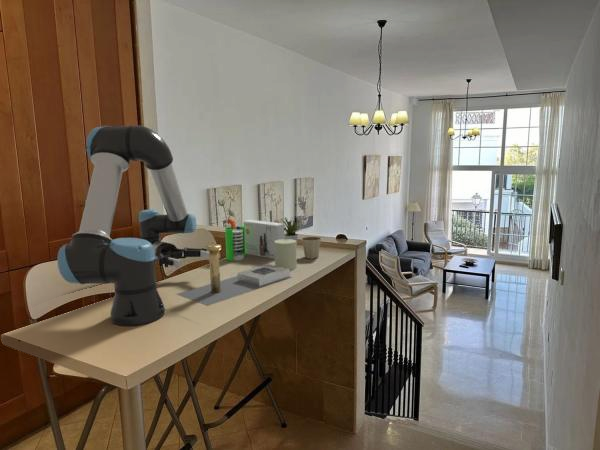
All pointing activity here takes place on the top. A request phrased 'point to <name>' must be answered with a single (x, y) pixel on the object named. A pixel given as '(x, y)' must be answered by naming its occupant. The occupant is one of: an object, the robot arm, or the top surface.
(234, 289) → the mat
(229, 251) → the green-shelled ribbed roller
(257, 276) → the grey flat rectangular block
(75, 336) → the top surface
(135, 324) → the robot arm
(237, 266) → the top surface
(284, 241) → the can
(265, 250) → the skincare box
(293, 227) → the house plant
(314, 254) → the flower pot
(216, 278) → the pin
